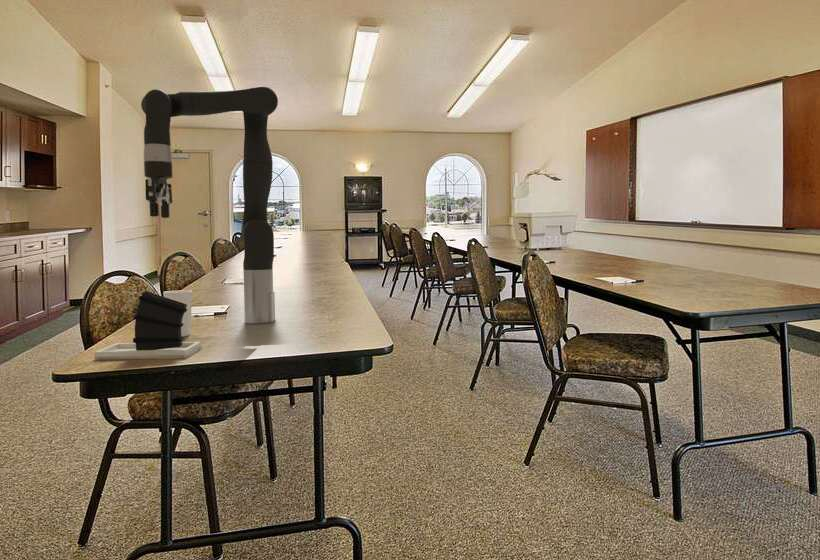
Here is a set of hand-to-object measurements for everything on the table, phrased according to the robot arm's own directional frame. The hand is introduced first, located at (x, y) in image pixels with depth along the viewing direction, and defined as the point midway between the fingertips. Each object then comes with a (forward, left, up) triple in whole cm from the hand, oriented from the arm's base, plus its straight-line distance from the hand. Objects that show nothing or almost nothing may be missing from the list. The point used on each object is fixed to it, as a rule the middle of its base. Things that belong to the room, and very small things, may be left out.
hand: (160, 217), depth 168 cm
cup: (-5, +2, -36) cm, 37 cm away
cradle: (-5, +24, -36) cm, 44 cm away
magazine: (-5, +24, -36) cm, 44 cm away
